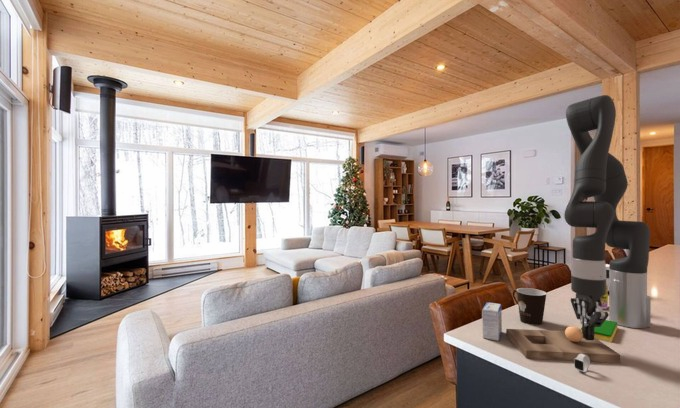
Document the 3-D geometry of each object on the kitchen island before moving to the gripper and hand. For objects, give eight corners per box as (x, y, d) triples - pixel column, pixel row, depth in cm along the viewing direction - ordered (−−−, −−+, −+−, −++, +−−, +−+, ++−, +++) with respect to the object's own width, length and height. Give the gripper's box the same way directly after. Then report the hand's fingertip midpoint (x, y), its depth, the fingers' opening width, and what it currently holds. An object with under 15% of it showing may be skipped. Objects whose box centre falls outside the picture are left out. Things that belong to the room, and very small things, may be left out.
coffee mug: (551, 327, 104) (551, 296, 104) (521, 325, 106) (521, 294, 106) (536, 314, 116) (536, 286, 115) (510, 313, 117) (510, 285, 117)
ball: (577, 338, 91) (577, 324, 91) (586, 344, 87) (586, 330, 87) (562, 337, 92) (562, 323, 92) (570, 344, 88) (570, 329, 88)
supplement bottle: (588, 308, 121) (588, 273, 121) (582, 303, 127) (582, 270, 127) (610, 310, 118) (610, 275, 118) (603, 305, 124) (604, 271, 124)
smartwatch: (581, 367, 80) (581, 350, 80) (592, 371, 78) (592, 354, 78) (573, 371, 78) (573, 354, 78) (584, 375, 76) (583, 358, 76)
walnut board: (586, 338, 96) (586, 331, 96) (620, 362, 82) (620, 354, 82) (506, 335, 99) (506, 328, 99) (526, 358, 85) (526, 350, 85)
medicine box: (498, 341, 95) (498, 311, 94) (482, 338, 97) (482, 309, 97) (501, 331, 101) (501, 303, 101) (486, 328, 104) (486, 301, 104)
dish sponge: (580, 336, 98) (580, 328, 98) (589, 323, 108) (589, 316, 108) (611, 343, 93) (611, 335, 93) (617, 329, 103) (617, 321, 103)
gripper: (621, 281, 81) (620, 351, 82) (588, 270, 95) (588, 329, 95) (588, 281, 82) (588, 349, 83) (560, 269, 96) (560, 328, 96)
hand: (588, 339), depth 89 cm, fingers closed
